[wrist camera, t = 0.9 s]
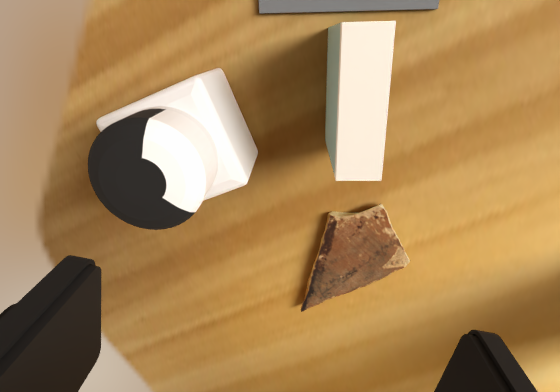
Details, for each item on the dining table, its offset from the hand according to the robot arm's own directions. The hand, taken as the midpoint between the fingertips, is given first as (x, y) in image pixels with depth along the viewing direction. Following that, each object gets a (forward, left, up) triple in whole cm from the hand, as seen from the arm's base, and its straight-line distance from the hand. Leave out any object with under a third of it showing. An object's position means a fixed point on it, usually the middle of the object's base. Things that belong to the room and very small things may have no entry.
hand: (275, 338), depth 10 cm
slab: (-4, -4, -21) cm, 22 cm away
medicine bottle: (+7, -1, -22) cm, 23 cm away
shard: (-6, +11, -22) cm, 25 cm away
